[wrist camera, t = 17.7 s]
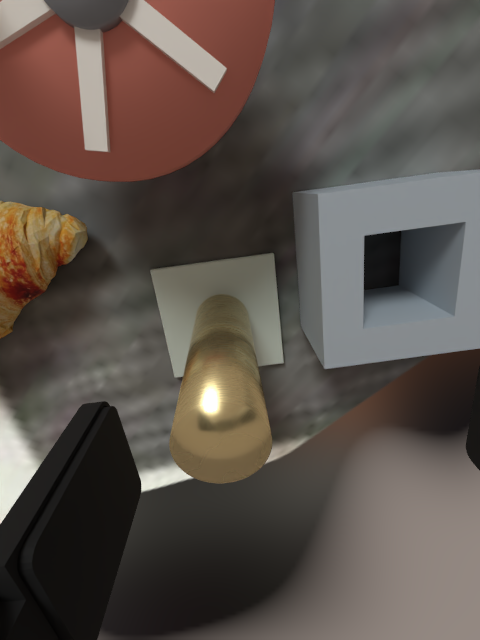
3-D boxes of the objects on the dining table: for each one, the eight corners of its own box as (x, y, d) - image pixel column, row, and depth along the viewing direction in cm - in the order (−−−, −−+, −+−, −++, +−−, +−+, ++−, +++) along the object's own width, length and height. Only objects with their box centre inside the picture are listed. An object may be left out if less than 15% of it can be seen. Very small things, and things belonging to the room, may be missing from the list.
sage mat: (273, 252, 22) (273, 253, 21) (282, 360, 25) (283, 362, 24) (151, 269, 22) (150, 270, 21) (175, 374, 25) (174, 377, 24)
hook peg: (245, 290, 22) (267, 395, 11) (251, 339, 24) (276, 476, 12) (191, 298, 22) (159, 409, 11) (200, 346, 24) (180, 489, 12)
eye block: (438, 172, 20) (518, 166, 15) (426, 309, 24) (488, 347, 18) (292, 192, 20) (317, 194, 15) (300, 326, 24) (324, 369, 18)
